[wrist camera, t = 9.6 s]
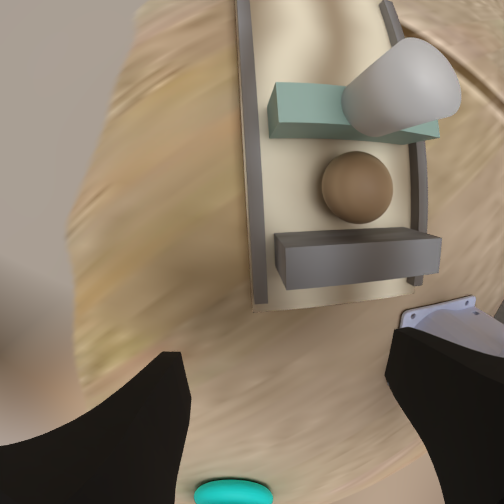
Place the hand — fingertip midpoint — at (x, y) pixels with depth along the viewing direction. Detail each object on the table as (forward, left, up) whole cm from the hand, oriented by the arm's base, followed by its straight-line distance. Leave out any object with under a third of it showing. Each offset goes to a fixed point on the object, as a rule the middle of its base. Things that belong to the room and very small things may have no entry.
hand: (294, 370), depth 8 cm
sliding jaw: (-5, -10, -9) cm, 14 cm away
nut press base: (-5, -10, -10) cm, 15 cm away
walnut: (-5, -6, -7) cm, 10 cm away
